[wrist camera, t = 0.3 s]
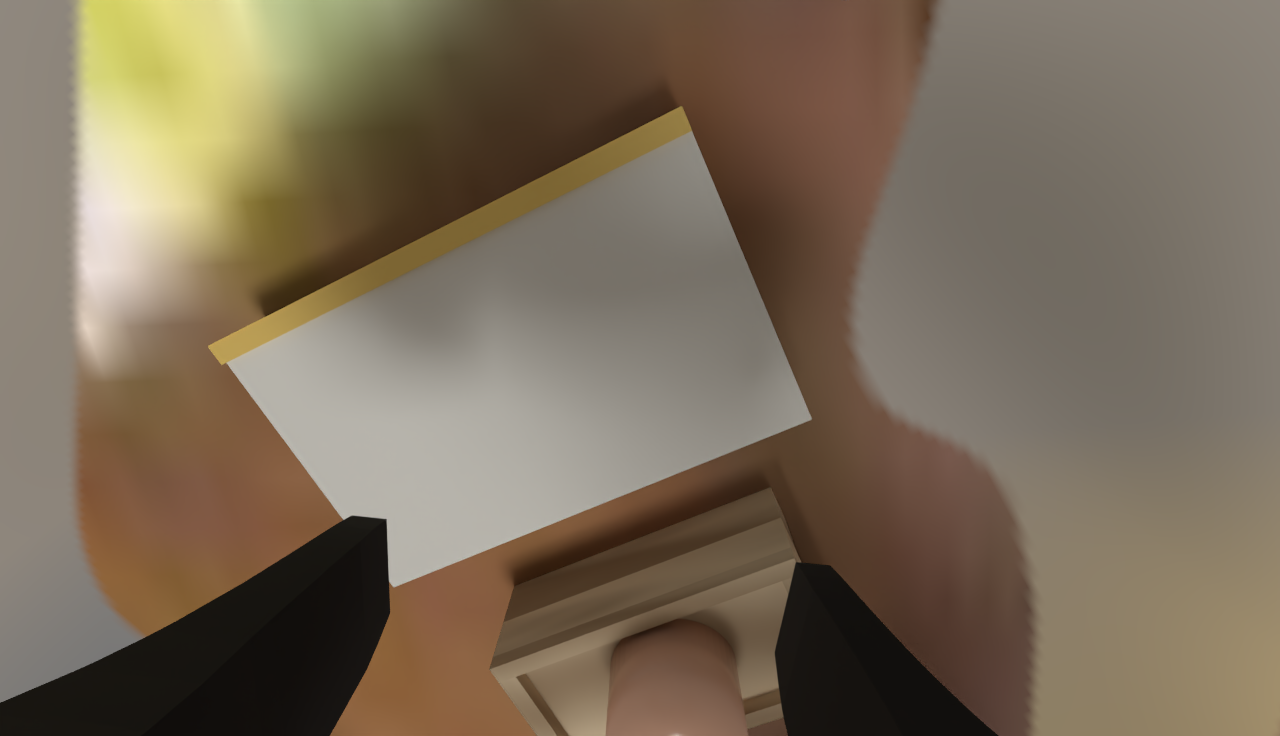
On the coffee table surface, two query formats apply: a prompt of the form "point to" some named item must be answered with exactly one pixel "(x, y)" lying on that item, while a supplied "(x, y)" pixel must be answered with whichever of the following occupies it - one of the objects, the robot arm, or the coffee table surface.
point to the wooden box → (650, 613)
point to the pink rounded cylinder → (675, 684)
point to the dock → (528, 356)
